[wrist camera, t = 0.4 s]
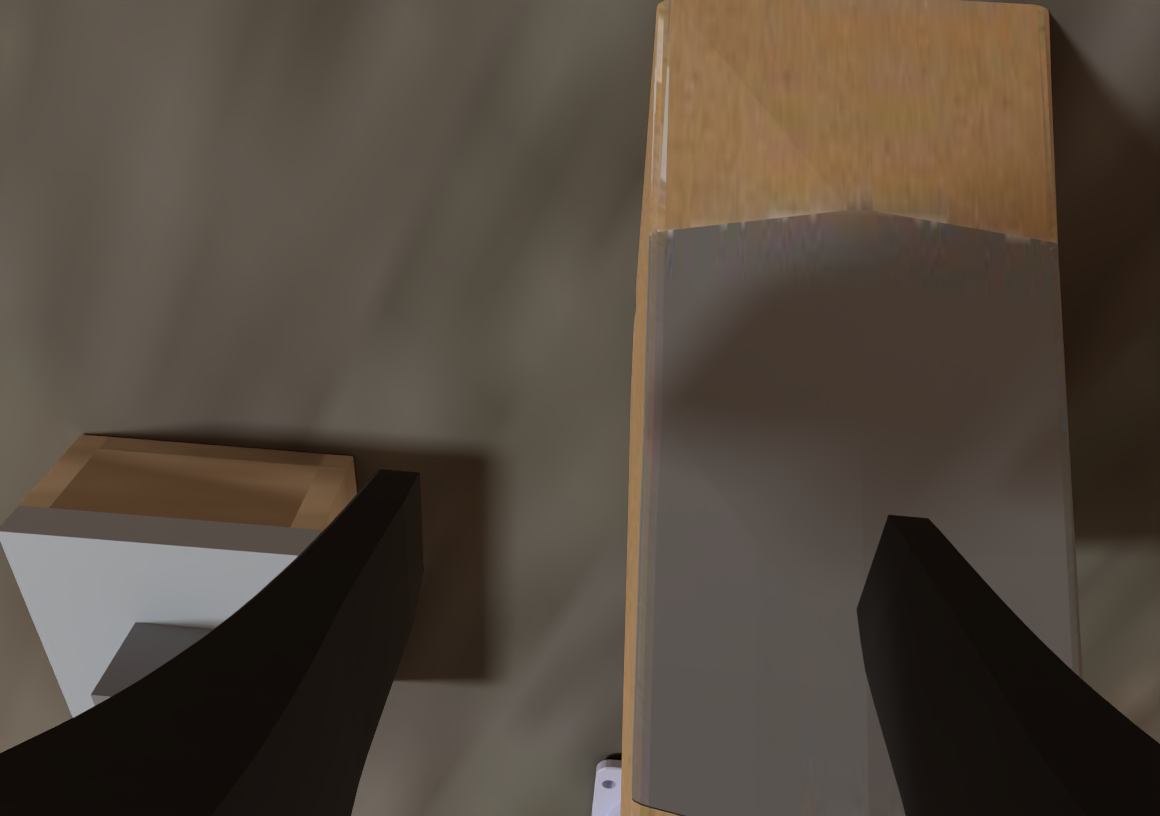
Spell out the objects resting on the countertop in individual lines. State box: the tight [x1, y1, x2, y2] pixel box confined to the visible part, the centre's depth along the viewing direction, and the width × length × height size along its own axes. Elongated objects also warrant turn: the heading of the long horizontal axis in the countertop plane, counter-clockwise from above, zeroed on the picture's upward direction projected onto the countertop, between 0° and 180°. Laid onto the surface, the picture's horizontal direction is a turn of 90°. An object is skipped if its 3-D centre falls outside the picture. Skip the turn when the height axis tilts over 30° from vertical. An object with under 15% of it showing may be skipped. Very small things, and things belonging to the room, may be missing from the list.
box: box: [19, 435, 357, 532], centre depth 28 cm, size 10×8×3 cm
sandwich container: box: [620, 0, 1083, 816], centre depth 17 cm, size 9×15×15 cm, turn 0°
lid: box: [0, 506, 321, 718], centre depth 25 cm, size 10×8×3 cm
